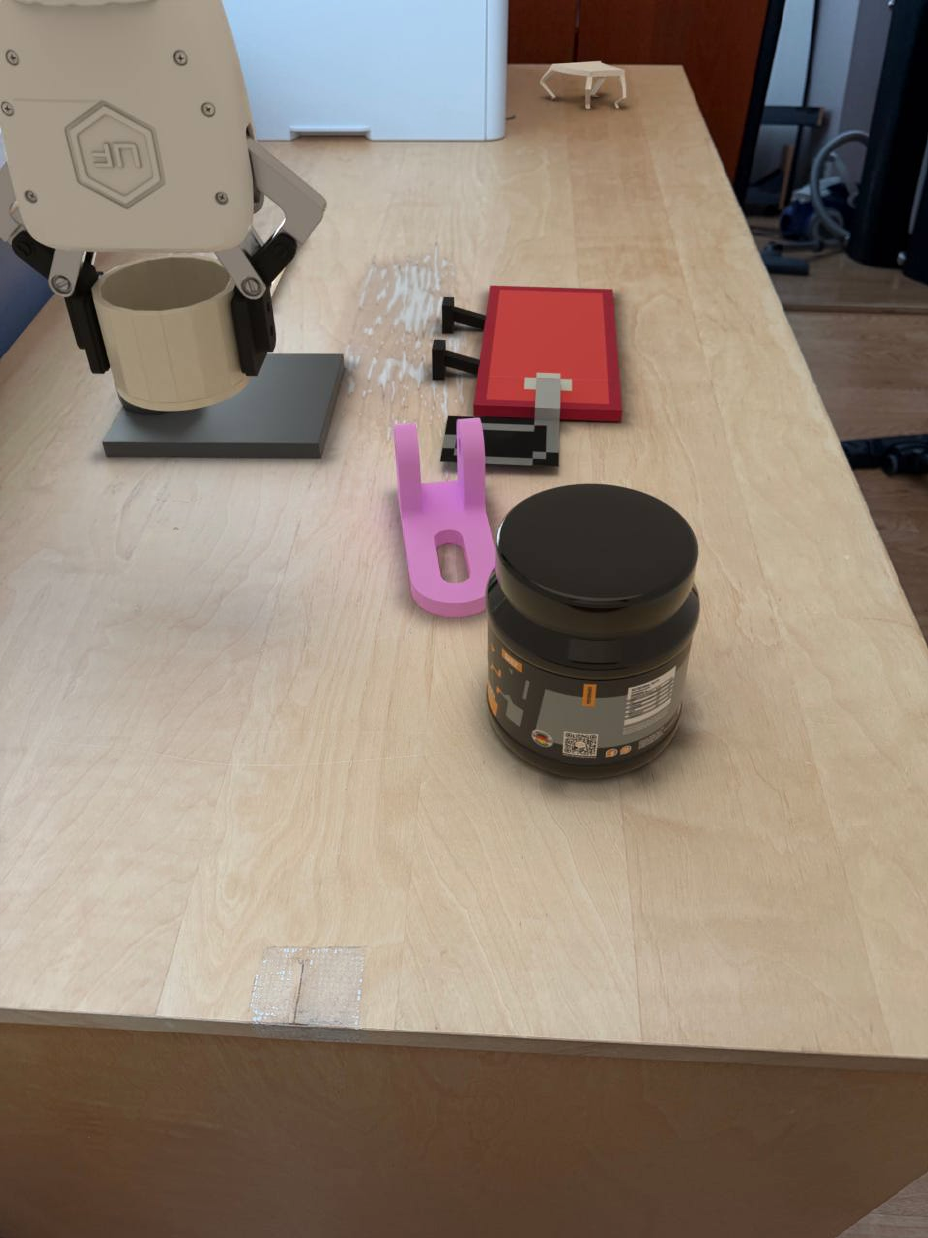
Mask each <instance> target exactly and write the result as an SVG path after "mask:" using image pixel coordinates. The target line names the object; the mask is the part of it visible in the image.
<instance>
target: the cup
mask: <svg viewBox="0 0 928 1238" xmlns="http://www.w3.org/2000/svg"><path fill="white" fill-rule="evenodd" d="M91 291H92V296H93V301H94V305H95V308H96V312H97V316H98V320H99V324H100V328H101V332H102V336H103V339H104V343H105V347H106V351H107V355H108V359H109V363H110V370H111V375H112V378H113V383H114V382H115V383H114V386H115V385H116V387H115V389H116V388H117V390H116V392H117V391H118V393H119V395H120V396H121V397H122V398H123V399H124V400H126V401H127V402H129V403H130V404H133V405H135V406H138V407H141V408H145V409H149V410H156V411H184V410H192V409H198V408H202V407H206V406H210V405H213V404H216V403H219V402H222V401H224V400H226V399H228V398H230V397H232V396H234V395H235V394H237V393H238V392H240V391H241V390H242V389H243V388H244V387H245V386H246V385H247V384H248V383H249V381H250V379H251V377H252V376H246V375H245V373H242V372H241V366H240V360H239V354H238V348H237V342H236V336H235V331H234V325H233V319H232V313H231V300H232V298H233V296H234V295H235V293H236V286H235V283H234V282H233V280H232V279H231V277H230V276H229V274H228V273H227V271H226V270H225V268H224V267H223V265H222V264H221V262H220V261H219V259H218V258H217V257H216V258H215V257H211V256H206V255H202V254H201V255H200V254H180V253H171V254H163V255H156V256H148V257H143V258H139V259H136V260H132V261H130V262H125V263H123V264H120V265H117V266H115V267H113V268H112V269H110V270H108V271H106V272H104V274H103V275H101V276H100V277H99V278H98V280H97V281H96V282H95V284H94V285H93V286H92V288H91Z"/></svg>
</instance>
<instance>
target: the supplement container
mask: <svg viewBox="0 0 928 1238" xmlns="http://www.w3.org/2000/svg"><path fill="white" fill-rule="evenodd" d="M494 546H495V567H494V569H493V570H492V572H491V574H490V576H489V579H488V581H487V585H486V590H485V610H484V611H485V614H486V618H487V683H486V689H485V690H486V691H485V692H486V693H485V694H486V695H485V697H486V698H485V700H486V709H487V712H488V718H489V720H490V722H491V725H492V727H493V729H494V730H495V732H496V734H497V736H498V737H499V739H500V740H501V741H502V742H503V744H504V745H505V746H506V747H507V748H508V749H509V750H510V751H512V752H513V753H514V754H515V755H516V756H517V757H519V758H520V759H522V760H523V761H525V762H527V763H528V764H530V765H532V766H534V767H536V768H538V769H541V770H543V771H546V772H549V773H551V774H555V775H558V776H563V777H568V778H576V779H577V778H578V779H604V778H609V777H614V776H619V775H623V774H626V773H629V772H632V771H634V770H636V769H639V768H641V767H642V766H644V765H646V764H648V763H650V762H651V761H653V760H654V759H655V758H657V757H658V756H659V754H661V753H662V752H663V751H664V750H665V748H666V747H667V746H668V745H669V744H670V743H671V741H672V739H673V738H674V737H675V734H676V732H677V730H678V727H679V725H680V721H681V717H682V711H683V696H684V690H685V685H686V679H687V673H688V668H689V661H690V655H691V649H692V644H693V638H694V635H695V632H696V631H697V627H698V624H699V621H700V613H701V600H700V593H699V590H698V587H697V585H696V582H695V578H696V571H697V565H698V559H699V543H698V539H697V536H696V534H695V531H694V529H693V528H692V526H691V524H690V523H689V521H687V519H686V518H685V517H684V516H683V515H682V514H681V513H679V512H678V511H677V510H676V509H675V508H674V507H672V506H671V505H669V504H668V503H667V502H665V501H663V500H661V499H659V498H657V497H655V496H653V495H651V494H649V493H645V492H644V491H640V490H637V489H634V488H631V487H626V486H621V485H615V484H607V483H588V482H587V483H573V484H566V485H560V486H556V487H552V488H548V489H544V490H541V491H539V492H537V493H534V494H532V495H530V496H528V497H527V498H525V499H523V500H521V501H520V502H518V503H517V504H515V505H514V506H513V507H511V509H510V510H509V511H508V512H507V513H506V514H505V515H504V517H503V518H502V520H501V521H500V523H499V525H498V527H497V530H496V534H495V541H494Z"/></svg>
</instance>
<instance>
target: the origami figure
mask: <svg viewBox="0 0 928 1238" xmlns="http://www.w3.org/2000/svg"><path fill="white" fill-rule="evenodd" d="M555 72H558V73H562V74H566V75H567V74H568V75H573V76H581V77H586V81H585V88H584V97H585V99H584V101H585V102H584V103H585V104H584V105H585V106H584V107H585V108H584V109H586V110H590V109H591V97H592V98H599V97H600V96H599V95H597V94H596V93H597V92H598V91H599V89H600V88H601V86H602V85H603V83H604V82H605V80H606V79H607V77H617V78H618V81H619V83H620V86H621V92H622V97H621V98H619V99H617V100H616V101H615V102H614V103H613V104H614V107H615V109H619V108H620V107H619V103H621V102H623V101H624V100H625V99H627V84H626V70H624V69H622V68H619V67H616V66H613V65H610V64H607V63H604V62H602V60H594V61H593V60H592V61H580V62H579V61H577V62H564V63H561V62H560V63H551V65H550V66H549V69H548V70H547V71H546V72H545V73H544V75H543V76H542V77H541V79H540V81H539V84H540V85H541V86H542V88H544V89H545V91H546V92H547V93H548V94H549V95H550V97H551V99H550V100H552V101H555V100H556V98H557V97H556V96H555V94H554V93H553V91H551V89H550V88H549V86H548V85H547V83H546V80H548V79H549V78H550V77H551V76H552V75H554V73H555ZM595 77H597V78H598V79H597V81H596V83H595V84H594V86H593V88H592V84H593V78H595Z"/></svg>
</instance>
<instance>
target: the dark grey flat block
mask: <svg viewBox="0 0 928 1238" xmlns="http://www.w3.org/2000/svg"><path fill="white" fill-rule="evenodd" d="M345 363H346V362H345V354H344V353H341V352H340V353H330V352H329V353H328V352H327V353H325V352H323V353H316V352H315V353H312V352H311V353H307V352H305V353H299V352H296V353H295V352H294V353H293V352H292V353H289V352H288V353H287V352H284V353H283V352H279V353H277V352H273V353H272V352H267V354H266V357H265V359H264V362H263V364H262V366H261V369H260V371H259V374H258V376H252V377H251V379H250V381H249V383H248V384H247V385H246V386H245V387H244V388H243V389H242V390H241V391H240V392H238V393H237V394H235V395H234V396H232V397H230V398H228V399H226V400H224V401H222V402H219V403H216V404H213V405H210V406H206V407H202V408H198V409H192V410H184V411H156V410H149V409H145V408H141V407H138V406H135V405H133V404H130V403H129V402H127V401H126V400H124V399H123V398H122V397H121V396H120V395H119V393H118V391H117V388H116V385H115V382H114V381H113V383H114V387H115V390H116V394H117V397H118V400H119V403H120V404H121V407H120V410H119V412H118V413H117V414H116V417H115V418H114V420H113V422H112V424H111V426H110V427H109V429H108V431H107V432H106V434H105V436H104V438H103V439H102V441H101V443H102V447H103V450H104V455H105V457H106V458H156V459H157V458H158V459H159V458H160V459H161V458H162V459H163V458H164V459H168V458H169V459H170V458H171V459H172V458H176V459H177V458H179V459H180V458H181V459H192V458H193V459H294V460H295V459H301V460H303V459H307V460H309V459H312V460H313V459H317V460H318V459H319V460H320V459H322V456H323V452H324V448H325V445H326V441H327V438H328V434H329V429H330V426H331V422H332V418H333V415H334V411H335V407H336V404H337V400H338V396H339V393H340V392H339V391H340V388H341V386H342V385H341V384H342V381H343V378H344V373H345V370H346V365H345Z"/></svg>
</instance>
